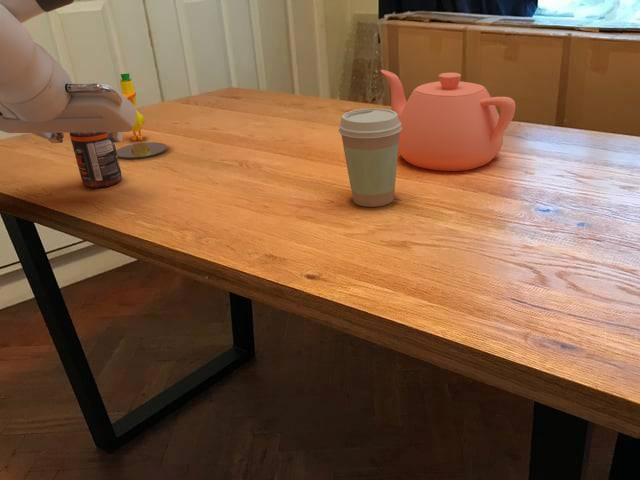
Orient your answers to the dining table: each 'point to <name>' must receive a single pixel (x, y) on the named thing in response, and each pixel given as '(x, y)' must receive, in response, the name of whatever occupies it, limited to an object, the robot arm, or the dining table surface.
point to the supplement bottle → (96, 159)
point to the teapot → (449, 123)
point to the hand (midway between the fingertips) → (88, 138)
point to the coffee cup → (371, 154)
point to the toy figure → (130, 95)
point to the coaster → (141, 150)
